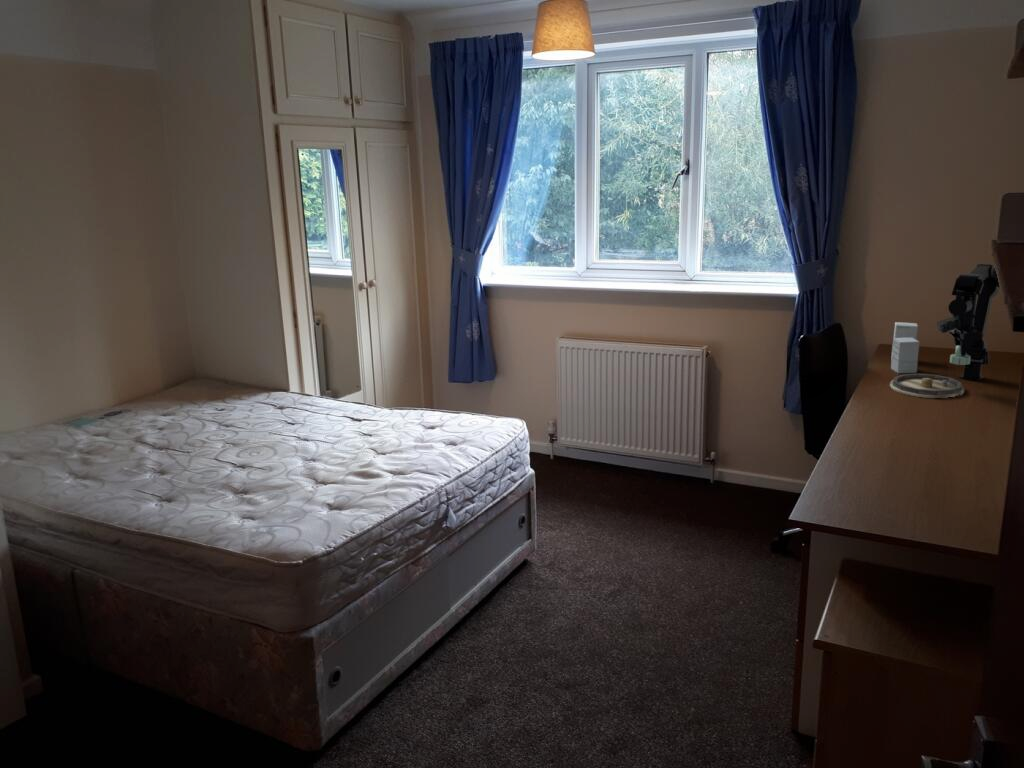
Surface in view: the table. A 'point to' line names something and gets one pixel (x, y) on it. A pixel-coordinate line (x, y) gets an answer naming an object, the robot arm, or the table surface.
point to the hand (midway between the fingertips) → (960, 354)
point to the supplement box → (905, 355)
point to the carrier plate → (917, 385)
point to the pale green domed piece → (959, 357)
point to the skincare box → (905, 330)
